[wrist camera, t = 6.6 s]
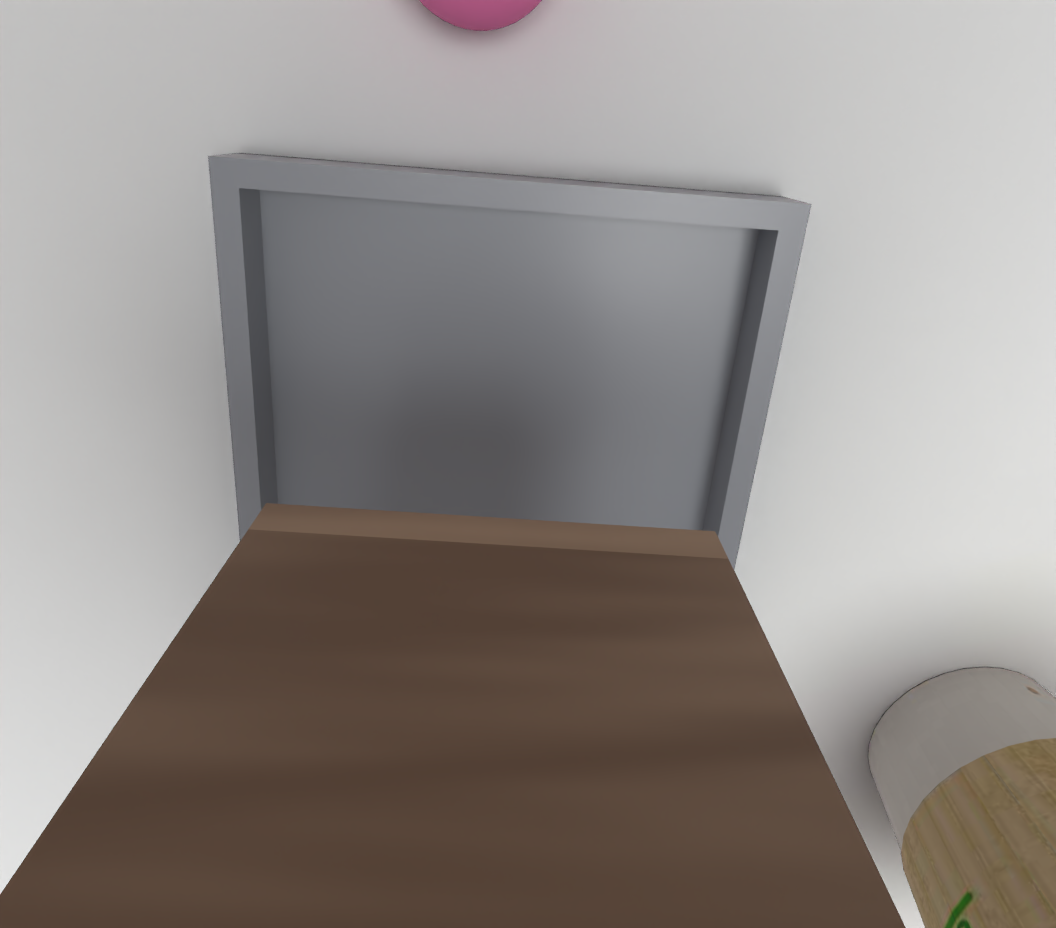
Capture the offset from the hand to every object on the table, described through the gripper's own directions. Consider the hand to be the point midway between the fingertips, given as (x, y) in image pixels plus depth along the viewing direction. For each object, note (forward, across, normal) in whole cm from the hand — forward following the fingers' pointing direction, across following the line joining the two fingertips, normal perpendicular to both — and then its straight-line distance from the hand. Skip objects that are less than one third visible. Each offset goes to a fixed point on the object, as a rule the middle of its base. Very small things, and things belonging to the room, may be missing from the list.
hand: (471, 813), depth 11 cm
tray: (+12, 0, 0) cm, 12 cm away
